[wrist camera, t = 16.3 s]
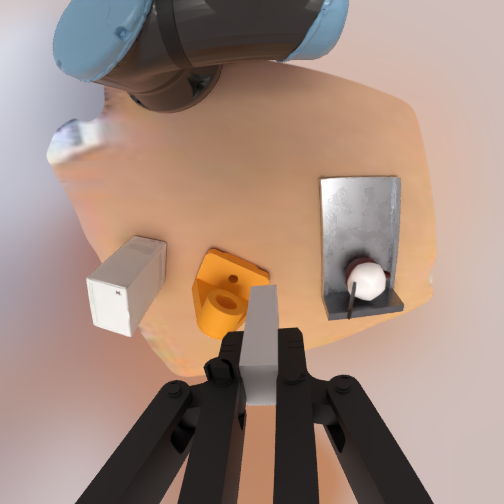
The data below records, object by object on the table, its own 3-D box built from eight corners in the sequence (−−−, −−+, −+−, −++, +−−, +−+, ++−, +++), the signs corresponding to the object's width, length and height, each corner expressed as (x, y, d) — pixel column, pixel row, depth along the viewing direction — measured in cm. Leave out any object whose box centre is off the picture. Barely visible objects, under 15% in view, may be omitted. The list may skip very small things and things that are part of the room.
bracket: (271, 272, 45) (271, 314, 34) (252, 305, 48) (247, 351, 36) (210, 244, 44) (190, 279, 33) (195, 280, 46) (174, 321, 35)
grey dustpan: (318, 178, 39) (328, 184, 32) (395, 176, 37) (416, 182, 31) (321, 296, 46) (328, 320, 39) (388, 289, 45) (402, 310, 38)
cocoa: (386, 259, 42) (421, 294, 31) (371, 292, 44) (399, 332, 33) (337, 244, 41) (364, 277, 30) (323, 279, 43) (343, 321, 32)
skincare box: (134, 234, 44) (83, 274, 30) (169, 241, 44) (127, 287, 30) (134, 277, 47) (91, 325, 33) (167, 285, 47) (131, 339, 33)
